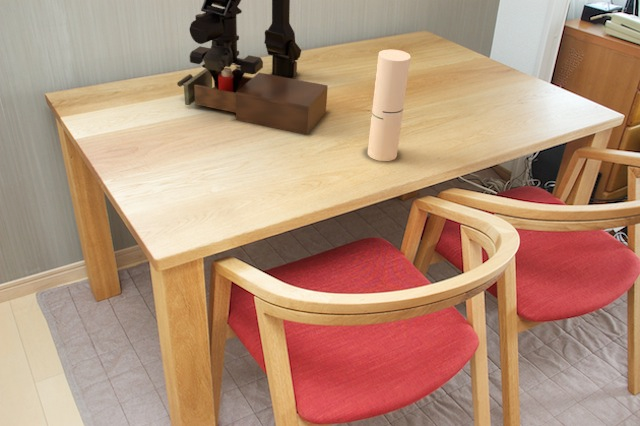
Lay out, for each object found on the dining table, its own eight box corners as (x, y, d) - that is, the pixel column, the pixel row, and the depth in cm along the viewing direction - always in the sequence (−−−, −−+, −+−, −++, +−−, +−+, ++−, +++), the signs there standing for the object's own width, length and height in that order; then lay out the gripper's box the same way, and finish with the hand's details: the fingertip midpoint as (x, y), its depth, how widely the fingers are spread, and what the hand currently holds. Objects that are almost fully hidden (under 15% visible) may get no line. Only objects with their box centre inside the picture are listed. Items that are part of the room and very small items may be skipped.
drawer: (170, 101, 175) (169, 81, 172) (195, 83, 186) (194, 64, 183) (248, 118, 170) (248, 97, 167) (269, 98, 181) (269, 78, 177)
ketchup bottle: (216, 99, 176) (215, 70, 171) (223, 93, 179) (222, 65, 175) (231, 102, 175) (230, 73, 170) (238, 96, 178) (237, 68, 174)
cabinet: (235, 119, 171) (235, 92, 166) (258, 98, 182) (259, 72, 178) (307, 134, 166) (308, 106, 162) (325, 112, 178) (327, 85, 173)
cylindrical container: (395, 163, 156) (409, 62, 142) (365, 158, 157) (376, 58, 143) (398, 149, 162) (411, 51, 148) (369, 145, 163) (380, 47, 149)
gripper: (177, 37, 163) (181, 95, 172) (245, 49, 158) (246, 108, 167) (198, 24, 172) (201, 80, 181) (264, 35, 167) (263, 92, 176)
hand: (226, 90), depth 176 cm, fingers closed on ketchup bottle, 4 cm apart
